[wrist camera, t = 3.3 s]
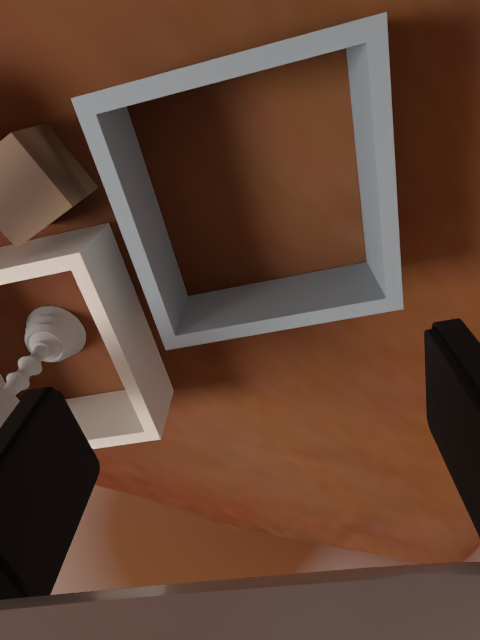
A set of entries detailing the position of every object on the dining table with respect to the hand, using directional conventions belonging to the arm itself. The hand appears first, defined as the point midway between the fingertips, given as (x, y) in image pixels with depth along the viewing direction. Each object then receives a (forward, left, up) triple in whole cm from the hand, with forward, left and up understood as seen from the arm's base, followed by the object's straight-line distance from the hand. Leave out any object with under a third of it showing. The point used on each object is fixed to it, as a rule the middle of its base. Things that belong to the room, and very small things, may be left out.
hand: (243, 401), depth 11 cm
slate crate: (0, 0, -22) cm, 22 cm away
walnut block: (-4, -14, -22) cm, 27 cm away
